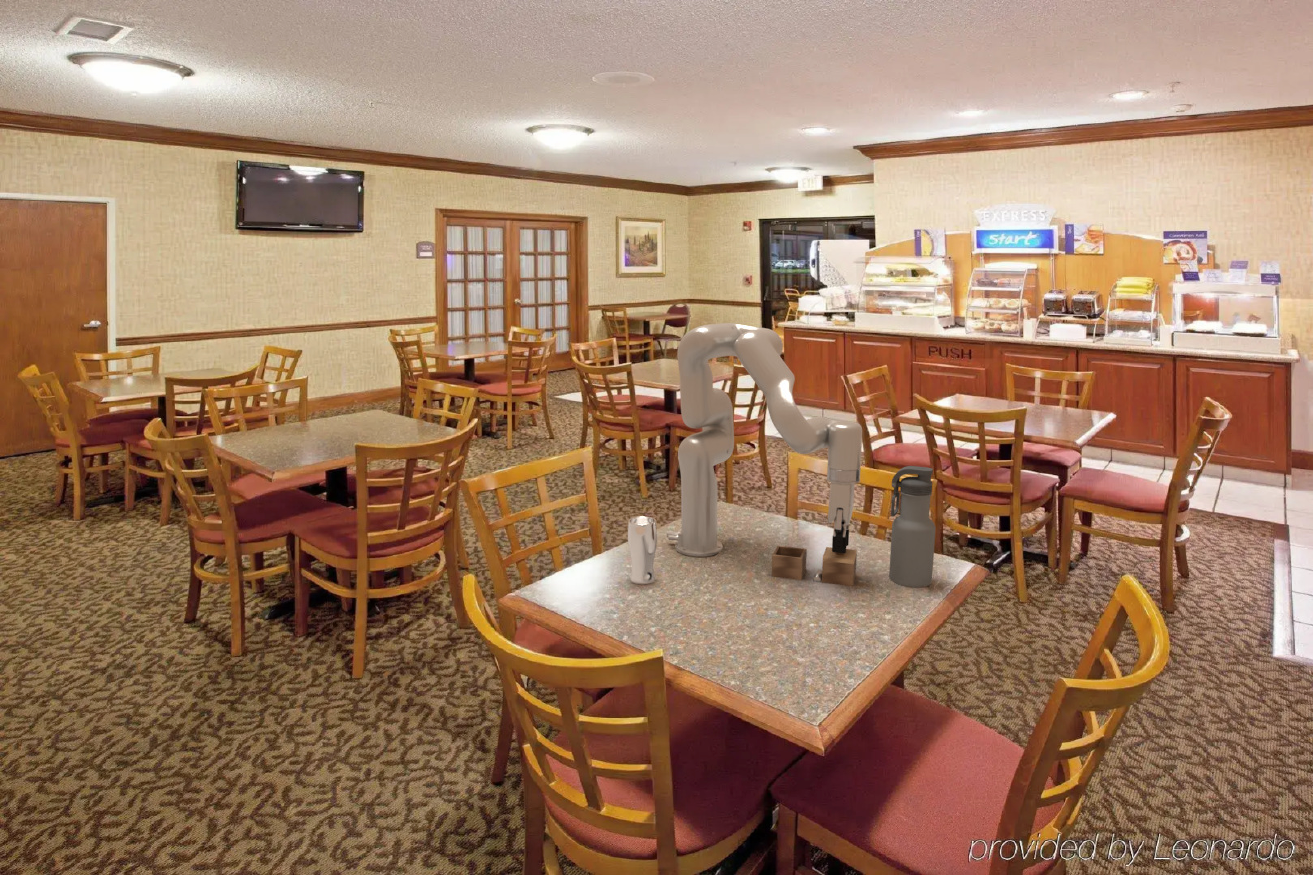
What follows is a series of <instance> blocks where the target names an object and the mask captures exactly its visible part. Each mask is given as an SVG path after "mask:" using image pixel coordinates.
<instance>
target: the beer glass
mask: <svg viewBox="0 0 1313 875" xmlns="http://www.w3.org/2000/svg"><path fill="white" fill-rule="evenodd" d="M627 526H628V527H627V543H628V544H627V546H628V552H629V556H630V563H631V573H630V577H629V581H630V582H631V583H633V584H636V585H649V584H652V583H654V582H655V581H656V575H655V569H654V563H655V558H656V557H655V556H656V550H657V544H658V533H657V531H658V530H657V520H656V519H655V518H654V517H650V516H634V517H631V518H629V520H628V525H627Z"/></svg>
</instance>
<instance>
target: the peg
mask: <svg viewBox="0 0 1313 875" xmlns="http://www.w3.org/2000/svg"><path fill="white" fill-rule="evenodd" d="M812 582H815V583H816V582H817V583H822V569H817V570H816V571H815V572H814V576H813V579H812Z"/></svg>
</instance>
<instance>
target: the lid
mask: <svg viewBox="0 0 1313 875" xmlns="http://www.w3.org/2000/svg"><path fill="white" fill-rule="evenodd" d="M856 554H857V555H858V552H857V549H852V548H851V549H849V548H846V553H835V552H832V547H831V546H826V547H825V550H824V552H823V555H822V562H823V561H829V562H838V563H848V564H854V562H855V558H856Z"/></svg>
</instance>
